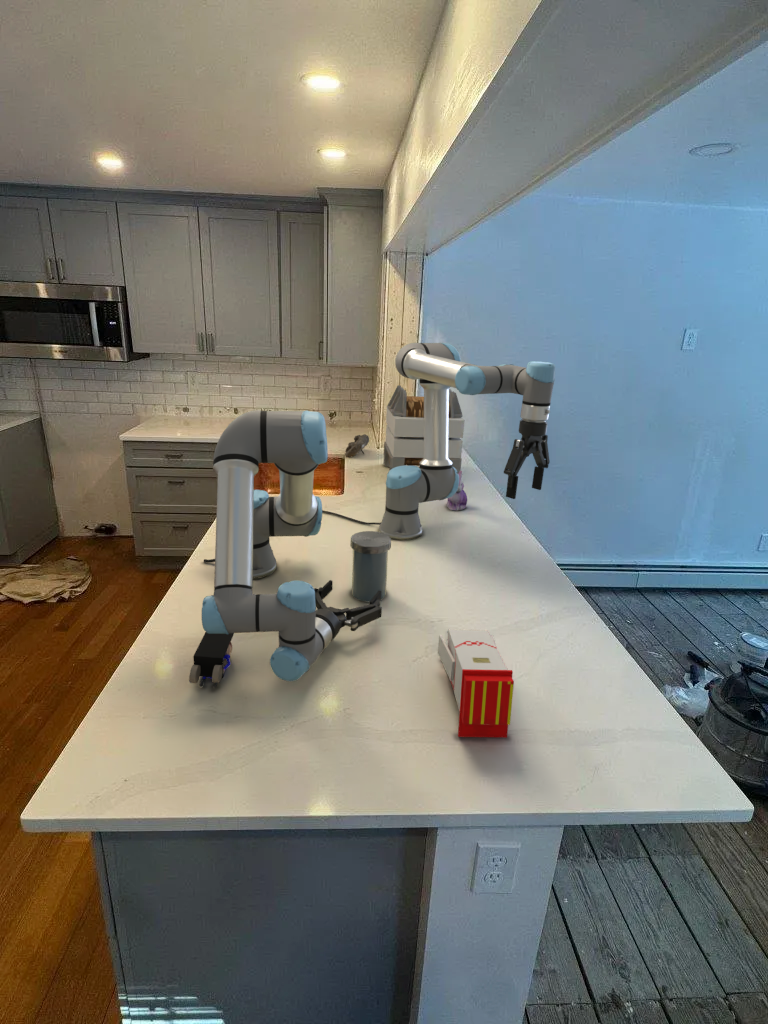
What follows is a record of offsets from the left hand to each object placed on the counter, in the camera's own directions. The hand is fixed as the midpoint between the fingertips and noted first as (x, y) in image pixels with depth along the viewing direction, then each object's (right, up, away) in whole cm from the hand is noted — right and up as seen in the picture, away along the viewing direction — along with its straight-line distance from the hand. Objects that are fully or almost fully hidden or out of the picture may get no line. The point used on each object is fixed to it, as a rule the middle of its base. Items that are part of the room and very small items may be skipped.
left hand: (355, 590), depth 146 cm
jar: (+3, -3, +12) cm, 12 cm away
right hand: (+48, +25, +18) cm, 57 cm away
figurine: (+37, +22, +84) cm, 94 cm away
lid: (+4, +13, +6) cm, 15 cm away
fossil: (-7, +51, +160) cm, 168 cm away
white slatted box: (+25, +39, +129) cm, 137 cm away
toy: (+25, -18, -27) cm, 41 cm away
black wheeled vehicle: (-29, -14, -25) cm, 40 cm away
